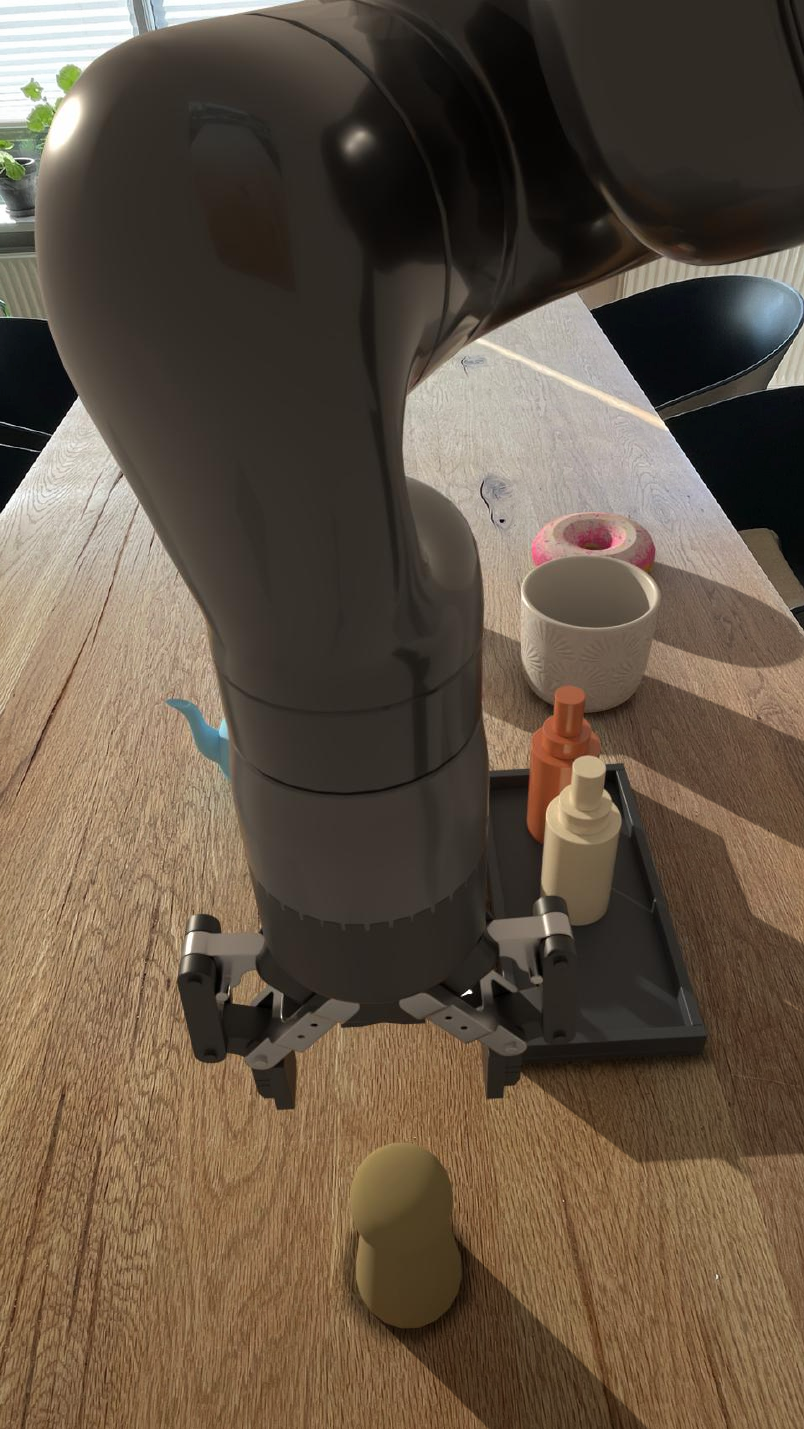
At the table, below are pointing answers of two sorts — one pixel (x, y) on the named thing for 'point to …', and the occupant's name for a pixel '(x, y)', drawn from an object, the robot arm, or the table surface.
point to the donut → (595, 539)
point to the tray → (600, 937)
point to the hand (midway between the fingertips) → (390, 1083)
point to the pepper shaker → (405, 1235)
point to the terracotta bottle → (557, 755)
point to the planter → (587, 628)
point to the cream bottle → (581, 843)
